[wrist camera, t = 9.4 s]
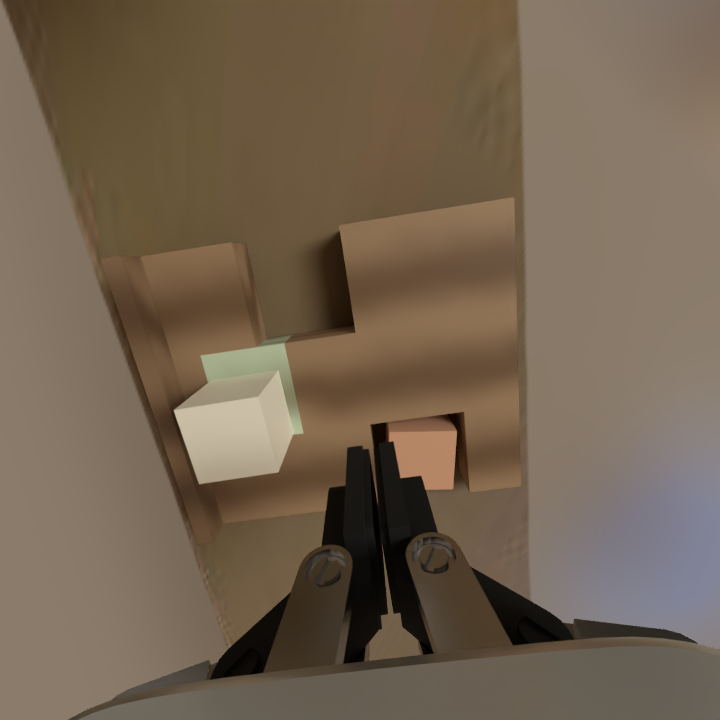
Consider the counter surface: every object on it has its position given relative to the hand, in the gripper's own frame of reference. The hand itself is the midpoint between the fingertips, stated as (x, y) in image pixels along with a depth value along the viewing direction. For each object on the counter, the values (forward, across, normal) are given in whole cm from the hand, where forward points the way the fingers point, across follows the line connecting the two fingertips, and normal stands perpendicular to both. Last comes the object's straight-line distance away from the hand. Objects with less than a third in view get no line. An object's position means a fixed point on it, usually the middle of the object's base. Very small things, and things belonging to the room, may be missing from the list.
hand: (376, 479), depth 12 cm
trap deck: (+16, +1, +1) cm, 16 cm away
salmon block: (+16, -3, +8) cm, 18 cm away
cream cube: (+13, +9, +2) cm, 15 cm away
